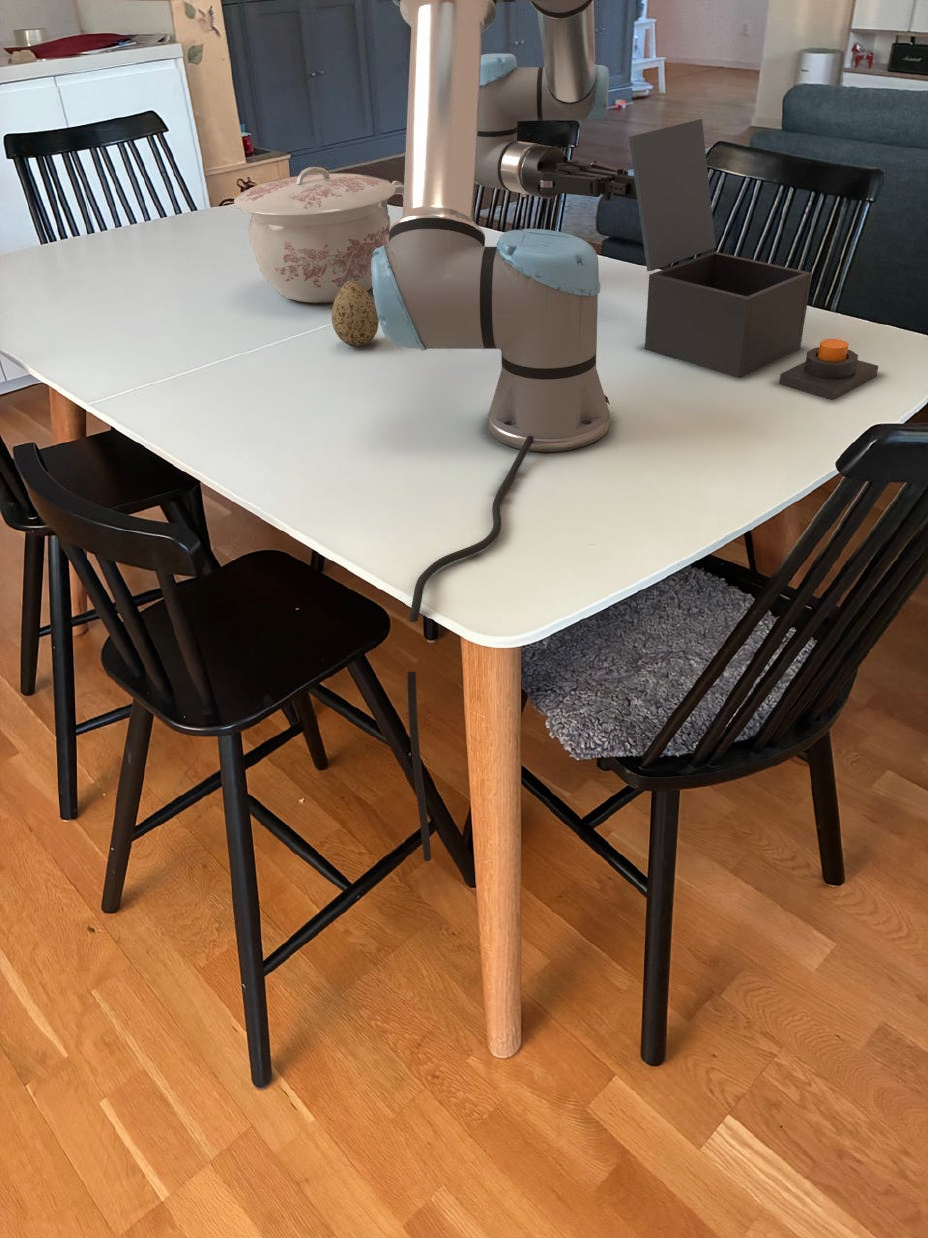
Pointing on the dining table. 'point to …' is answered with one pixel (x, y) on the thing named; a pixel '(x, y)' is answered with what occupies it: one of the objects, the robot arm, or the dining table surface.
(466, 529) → the dining table surface
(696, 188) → the dark grey box lid
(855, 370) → the control block
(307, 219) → the chamber pot
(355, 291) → the decorative egg
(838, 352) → the button
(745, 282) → the dark grey box
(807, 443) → the dining table surface
